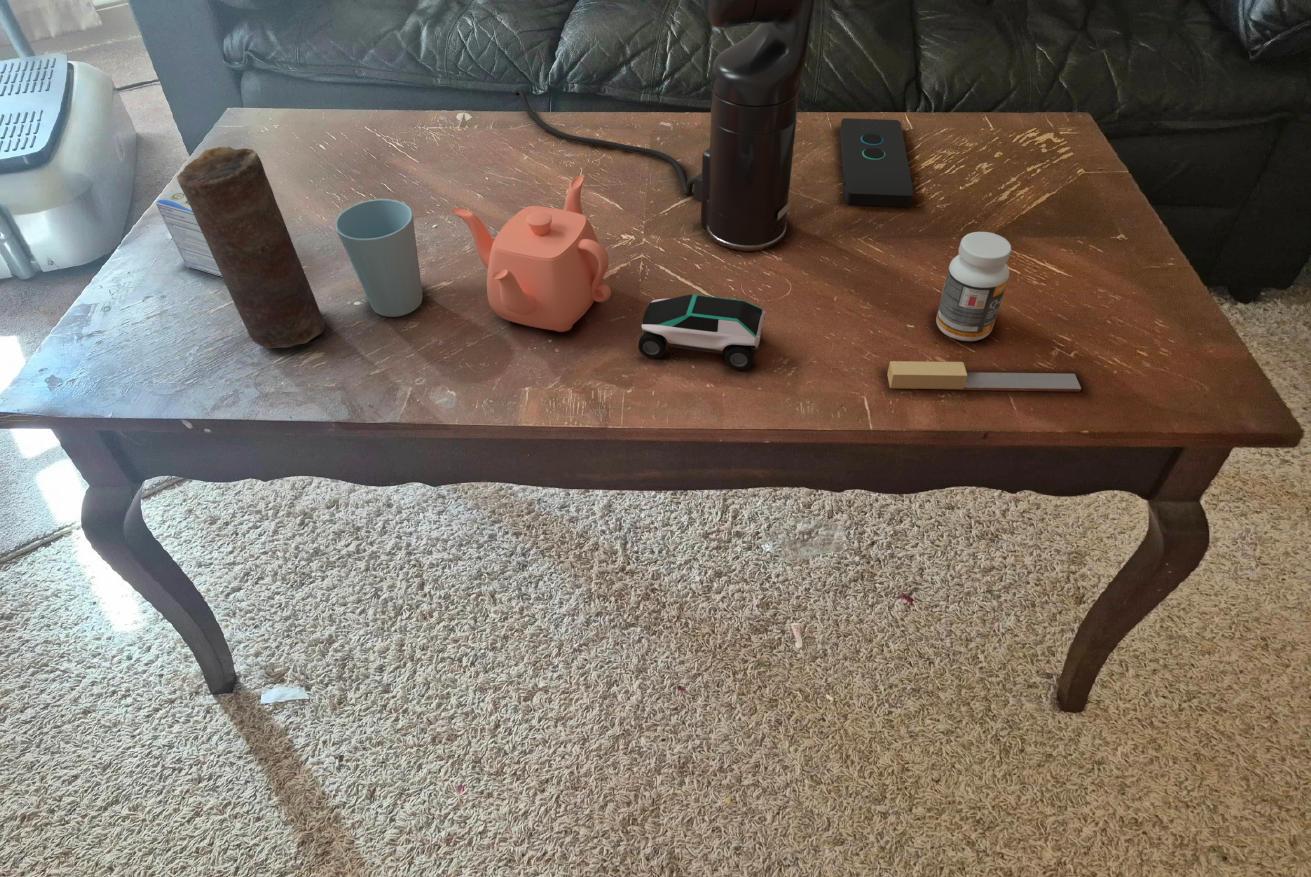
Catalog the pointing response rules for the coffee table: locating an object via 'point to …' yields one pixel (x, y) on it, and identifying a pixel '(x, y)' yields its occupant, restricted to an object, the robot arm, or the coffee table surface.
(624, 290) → the coffee table surface
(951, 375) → the knife
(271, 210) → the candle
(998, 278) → the pill bottle
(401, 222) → the cup
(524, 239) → the teapot
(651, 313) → the toy car
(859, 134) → the smart home device
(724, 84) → the robot arm
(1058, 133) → the coffee table surface
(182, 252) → the medicine box
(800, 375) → the coffee table surface
